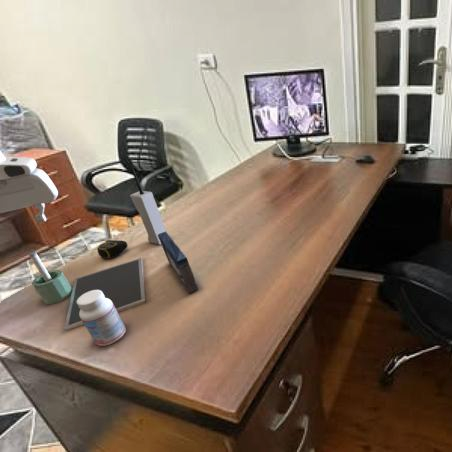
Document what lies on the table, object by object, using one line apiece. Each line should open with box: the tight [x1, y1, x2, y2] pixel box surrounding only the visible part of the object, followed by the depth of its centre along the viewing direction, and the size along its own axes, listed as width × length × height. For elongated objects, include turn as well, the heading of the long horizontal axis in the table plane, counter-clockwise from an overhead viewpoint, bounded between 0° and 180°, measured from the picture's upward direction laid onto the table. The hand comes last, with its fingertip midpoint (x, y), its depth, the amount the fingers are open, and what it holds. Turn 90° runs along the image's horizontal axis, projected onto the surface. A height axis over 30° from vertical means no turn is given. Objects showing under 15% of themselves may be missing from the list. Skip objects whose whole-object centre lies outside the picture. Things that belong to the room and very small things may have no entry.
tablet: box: [63, 257, 147, 332], centre depth 91 cm, size 17×22×1 cm
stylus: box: [28, 251, 52, 282], centre depth 88 cm, size 1×1×13 cm
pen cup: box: [31, 269, 73, 305], centre depth 90 cm, size 6×6×6 cm
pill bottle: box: [77, 290, 127, 347], centre depth 74 cm, size 6×6×11 cm
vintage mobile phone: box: [130, 167, 167, 246], centre depth 106 cm, size 4×5×25 cm
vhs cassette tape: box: [158, 231, 199, 294], centre depth 92 cm, size 18×3×10 cm, turn 36°
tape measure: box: [97, 239, 129, 259], centre depth 107 cm, size 7×7×4 cm
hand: (18, 227), depth 81 cm, fingers open, 8 cm apart
